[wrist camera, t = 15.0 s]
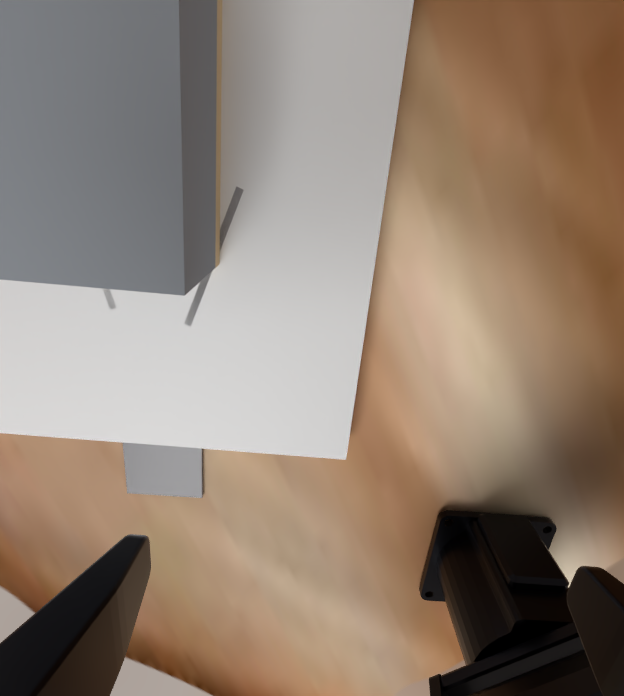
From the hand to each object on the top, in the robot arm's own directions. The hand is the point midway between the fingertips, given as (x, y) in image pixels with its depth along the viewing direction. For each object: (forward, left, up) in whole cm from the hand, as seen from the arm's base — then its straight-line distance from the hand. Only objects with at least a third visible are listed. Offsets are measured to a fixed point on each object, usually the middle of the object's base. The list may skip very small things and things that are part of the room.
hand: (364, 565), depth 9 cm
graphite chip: (-7, +8, -13) cm, 17 cm away
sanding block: (+8, +8, -10) cm, 16 cm away
